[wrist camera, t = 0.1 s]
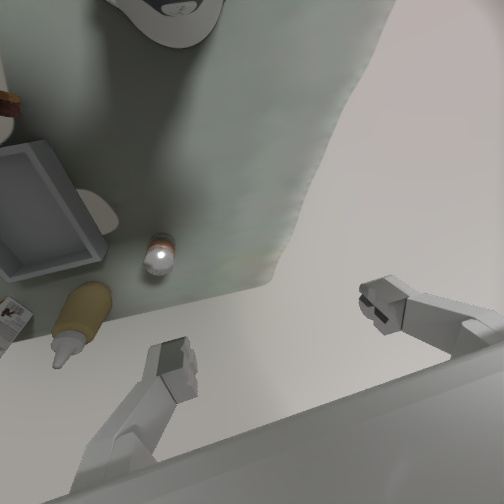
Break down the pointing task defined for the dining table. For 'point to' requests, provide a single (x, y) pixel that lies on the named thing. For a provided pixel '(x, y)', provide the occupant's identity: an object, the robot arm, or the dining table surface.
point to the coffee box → (11, 321)
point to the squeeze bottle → (79, 320)
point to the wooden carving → (9, 104)
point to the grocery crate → (42, 216)
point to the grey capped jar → (160, 254)
